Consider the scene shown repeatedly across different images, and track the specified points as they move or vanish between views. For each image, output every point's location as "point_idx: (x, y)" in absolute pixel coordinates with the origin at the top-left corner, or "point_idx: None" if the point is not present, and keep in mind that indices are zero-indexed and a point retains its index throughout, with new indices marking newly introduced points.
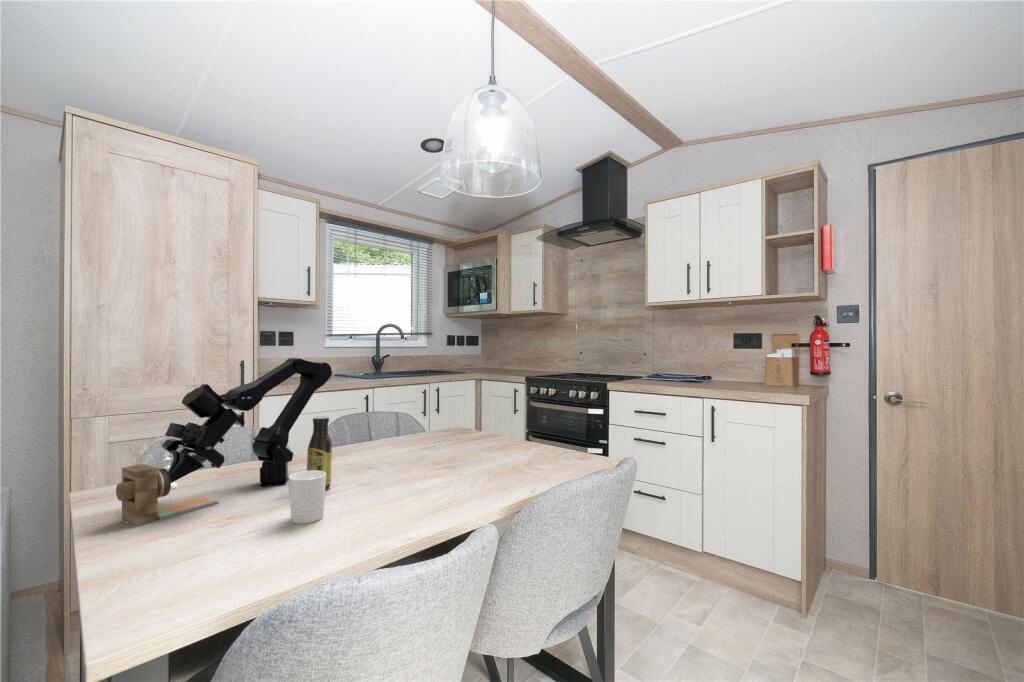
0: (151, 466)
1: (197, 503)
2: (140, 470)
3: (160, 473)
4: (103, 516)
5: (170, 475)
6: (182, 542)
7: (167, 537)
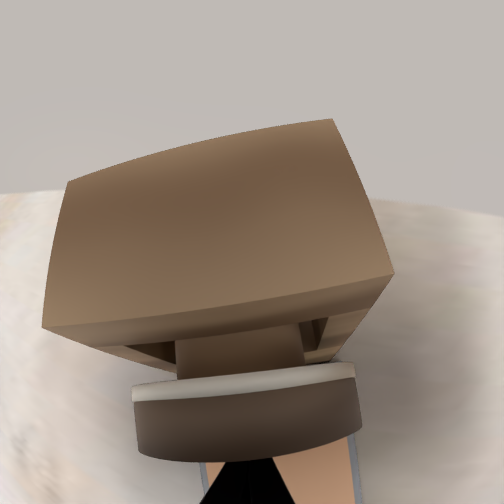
0: (131, 307)
1: None
2: (79, 203)
3: (143, 393)
4: (421, 256)
5: (212, 484)
6: (5, 339)
7: (45, 334)
